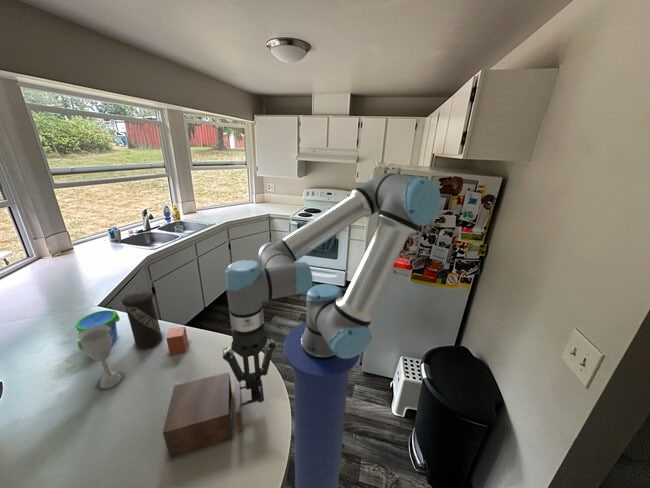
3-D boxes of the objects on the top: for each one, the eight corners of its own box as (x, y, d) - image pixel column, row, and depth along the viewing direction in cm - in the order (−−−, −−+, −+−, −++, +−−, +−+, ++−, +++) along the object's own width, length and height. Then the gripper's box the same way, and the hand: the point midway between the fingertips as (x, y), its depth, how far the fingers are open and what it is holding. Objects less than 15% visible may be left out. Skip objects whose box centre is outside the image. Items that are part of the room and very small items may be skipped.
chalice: (88, 391, 72) (68, 341, 66) (107, 371, 79) (90, 324, 73) (114, 390, 73) (97, 341, 66) (131, 371, 79) (116, 325, 73)
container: (142, 353, 86) (128, 304, 79) (130, 343, 90) (115, 295, 84) (168, 338, 93) (157, 292, 86) (155, 329, 97) (144, 285, 90)
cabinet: (232, 394, 73) (229, 372, 70) (232, 438, 62) (228, 414, 59) (179, 407, 69) (174, 384, 66) (169, 457, 58) (162, 433, 55)
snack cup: (99, 359, 83) (90, 335, 79) (68, 357, 83) (58, 333, 80) (134, 328, 98) (128, 306, 94) (108, 327, 98) (101, 305, 94)
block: (188, 341, 92) (185, 326, 90) (186, 351, 88) (182, 335, 85) (172, 344, 91) (169, 328, 88) (169, 354, 86) (166, 338, 84)
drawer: (261, 386, 75) (260, 368, 73) (266, 422, 65) (265, 404, 63) (194, 403, 69) (190, 385, 67) (187, 447, 59) (183, 427, 57)
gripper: (217, 339, 54) (228, 415, 62) (277, 328, 58) (280, 400, 67) (219, 318, 61) (229, 389, 69) (273, 309, 65) (276, 377, 73)
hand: (254, 394), depth 68 cm, fingers closed
